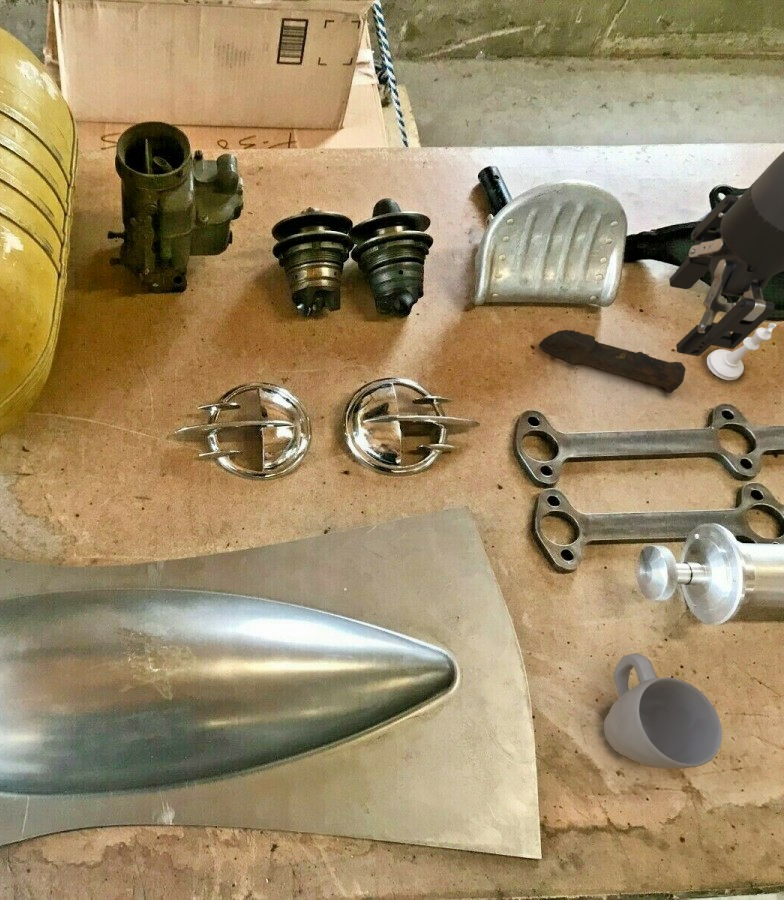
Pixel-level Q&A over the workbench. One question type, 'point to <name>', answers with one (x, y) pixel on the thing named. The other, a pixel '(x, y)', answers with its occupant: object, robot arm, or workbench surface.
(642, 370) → the hand tool
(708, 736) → the mug
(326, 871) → the workbench surface
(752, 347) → the chess piece
